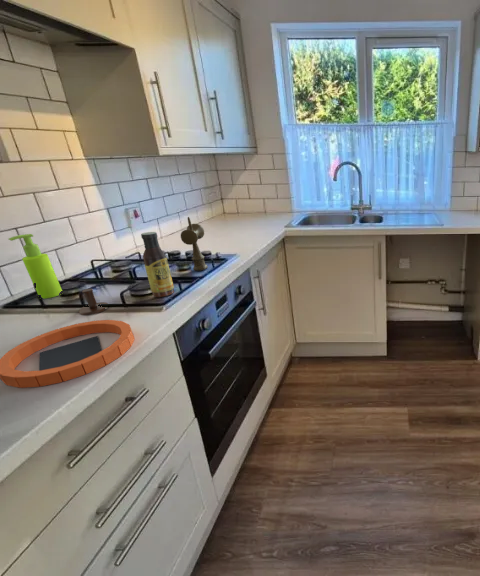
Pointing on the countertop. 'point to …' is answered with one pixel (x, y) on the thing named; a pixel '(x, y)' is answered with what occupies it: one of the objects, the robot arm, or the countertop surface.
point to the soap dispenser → (39, 268)
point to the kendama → (194, 244)
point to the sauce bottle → (156, 266)
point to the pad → (69, 353)
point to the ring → (25, 379)
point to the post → (91, 304)
